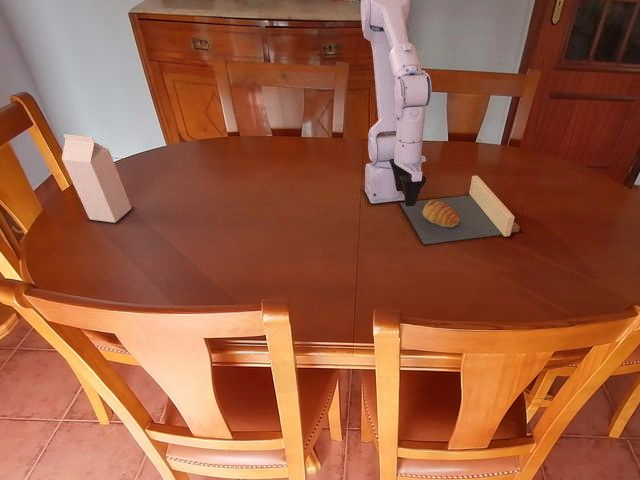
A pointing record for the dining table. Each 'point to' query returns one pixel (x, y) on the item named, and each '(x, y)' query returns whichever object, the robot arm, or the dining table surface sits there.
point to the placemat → (467, 228)
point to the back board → (493, 207)
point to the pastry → (440, 214)
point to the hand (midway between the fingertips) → (405, 197)
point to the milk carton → (95, 178)
